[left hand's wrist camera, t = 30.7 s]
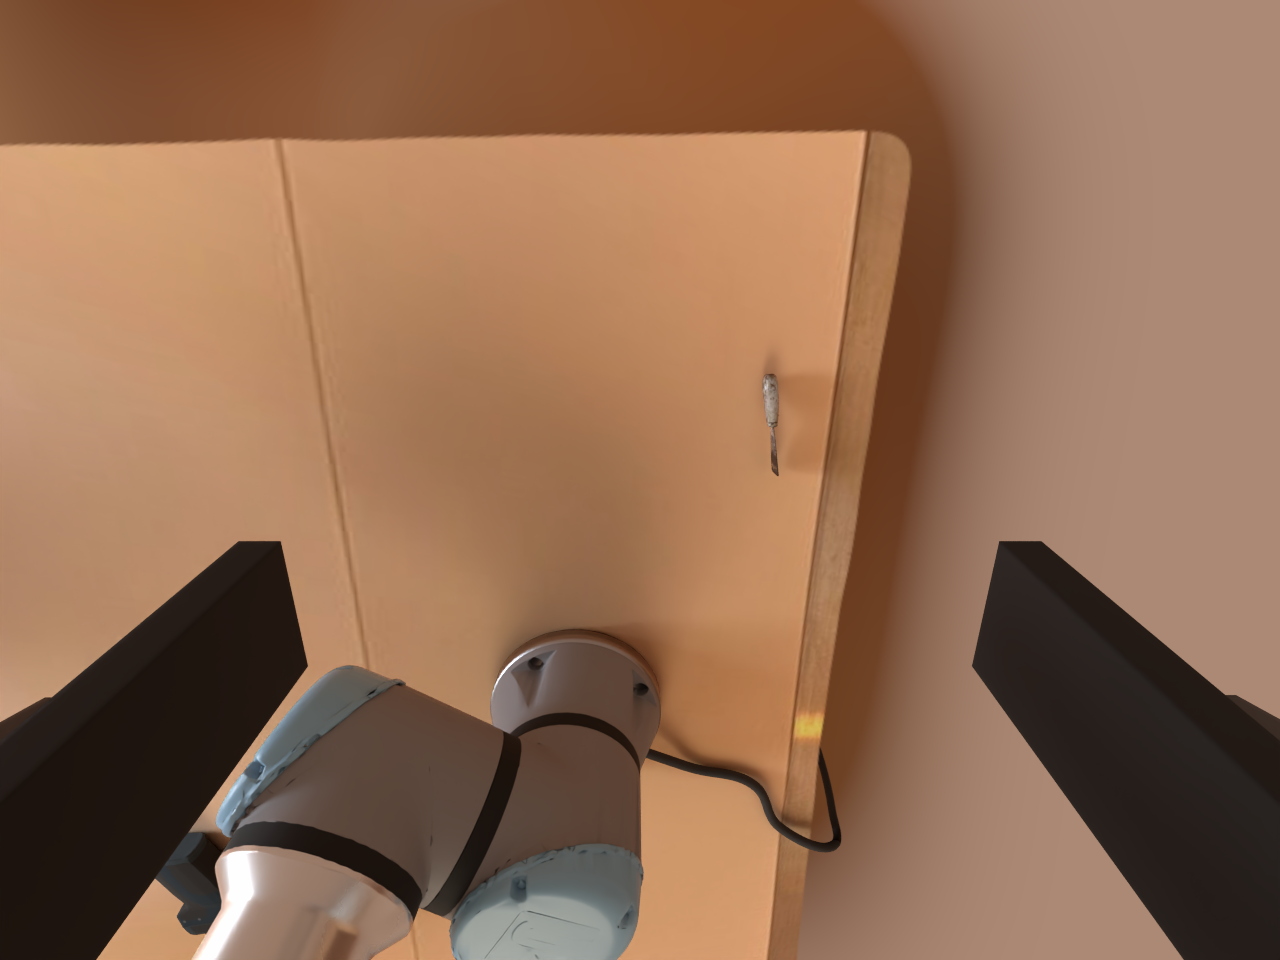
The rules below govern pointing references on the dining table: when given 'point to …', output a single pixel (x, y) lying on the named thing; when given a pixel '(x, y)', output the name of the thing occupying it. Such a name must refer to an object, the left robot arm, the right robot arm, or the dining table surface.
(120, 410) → the dining table surface
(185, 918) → the handgun
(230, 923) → the left robot arm
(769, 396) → the putty knife
